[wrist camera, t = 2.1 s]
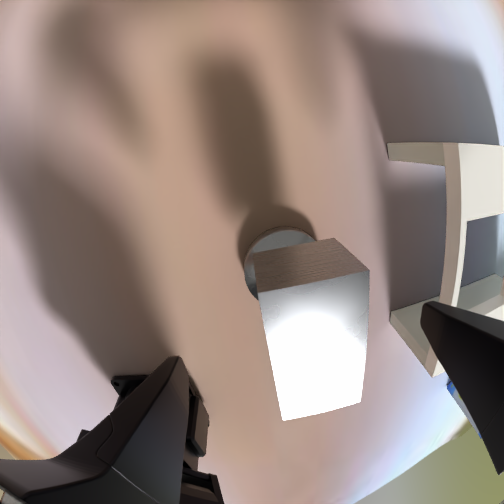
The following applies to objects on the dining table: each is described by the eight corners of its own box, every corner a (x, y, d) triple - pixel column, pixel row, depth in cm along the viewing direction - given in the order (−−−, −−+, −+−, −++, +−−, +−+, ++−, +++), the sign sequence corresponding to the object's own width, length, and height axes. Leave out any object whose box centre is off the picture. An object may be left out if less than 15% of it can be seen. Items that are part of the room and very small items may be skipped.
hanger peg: (253, 314, 16) (264, 423, 9) (234, 223, 14) (230, 297, 7) (324, 299, 16) (376, 396, 9) (316, 209, 14) (391, 264, 7)
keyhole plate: (390, 323, 17) (431, 377, 11) (386, 143, 13) (458, 142, 7) (492, 283, 17) (535, 314, 11) (500, 145, 13) (555, 153, 7)
